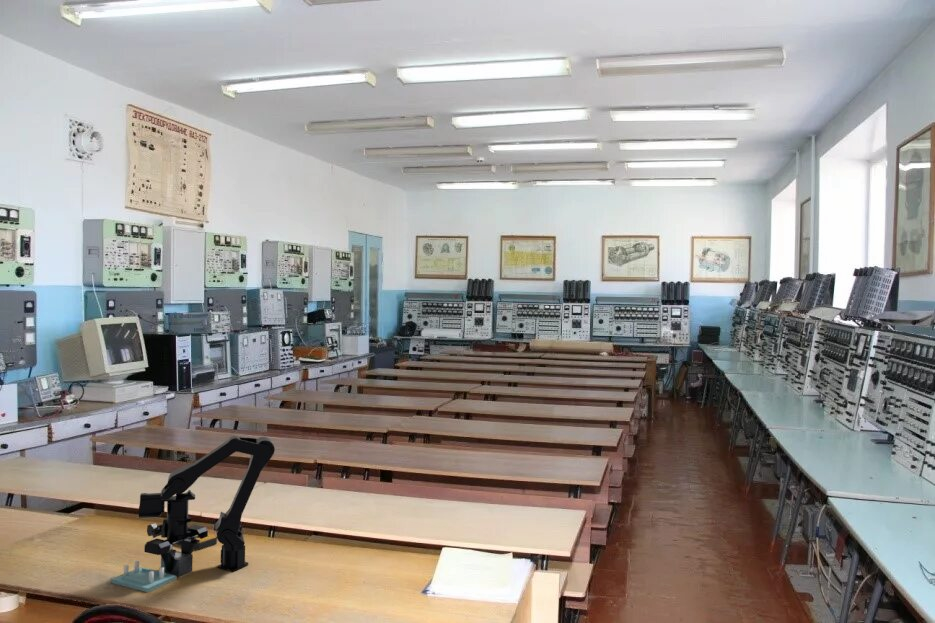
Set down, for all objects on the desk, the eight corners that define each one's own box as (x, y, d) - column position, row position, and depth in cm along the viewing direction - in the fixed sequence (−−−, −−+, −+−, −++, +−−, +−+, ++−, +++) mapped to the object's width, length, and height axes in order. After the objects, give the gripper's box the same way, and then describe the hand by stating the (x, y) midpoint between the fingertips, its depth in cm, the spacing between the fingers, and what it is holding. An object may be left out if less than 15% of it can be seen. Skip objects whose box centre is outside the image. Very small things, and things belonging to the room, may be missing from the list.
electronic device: (196, 553, 228) (196, 542, 228) (166, 542, 237) (166, 531, 236) (218, 545, 235) (219, 535, 235) (188, 535, 244) (188, 525, 243)
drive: (192, 571, 211) (192, 554, 211) (178, 577, 207) (179, 559, 206) (174, 567, 214) (174, 550, 214) (160, 573, 209) (161, 555, 209)
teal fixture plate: (176, 579, 205) (176, 565, 205) (147, 592, 196) (147, 577, 196) (140, 570, 211) (140, 556, 211) (110, 582, 202) (110, 568, 202)
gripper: (181, 503, 222) (180, 554, 222) (130, 519, 205) (129, 574, 205) (209, 508, 217) (208, 560, 218) (159, 525, 200) (158, 581, 201)
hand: (176, 568), depth 210 cm, fingers closed on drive, 5 cm apart
